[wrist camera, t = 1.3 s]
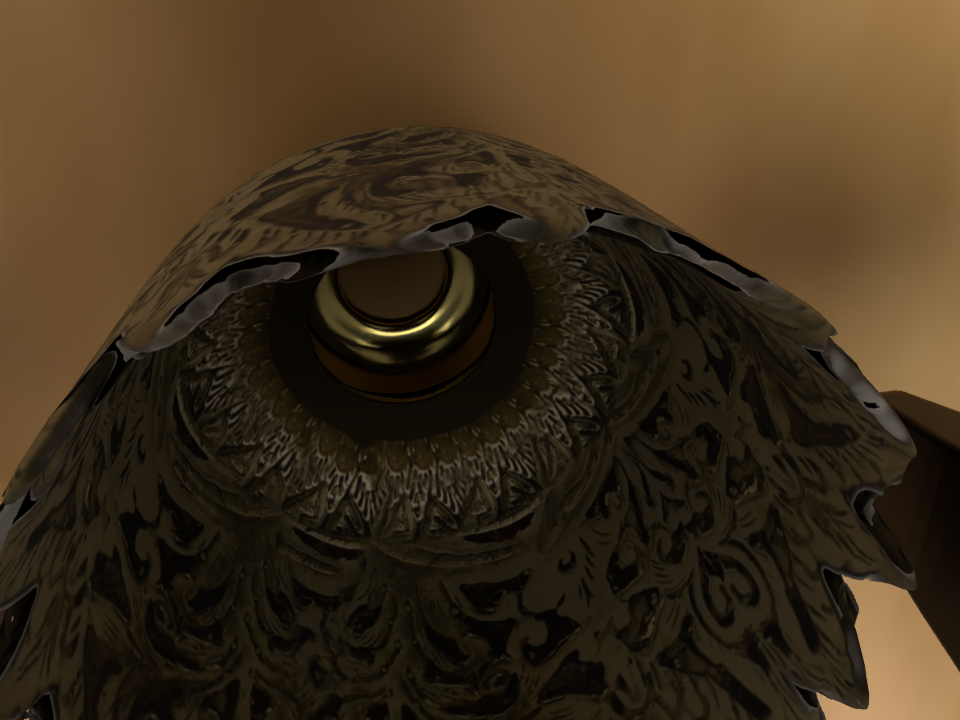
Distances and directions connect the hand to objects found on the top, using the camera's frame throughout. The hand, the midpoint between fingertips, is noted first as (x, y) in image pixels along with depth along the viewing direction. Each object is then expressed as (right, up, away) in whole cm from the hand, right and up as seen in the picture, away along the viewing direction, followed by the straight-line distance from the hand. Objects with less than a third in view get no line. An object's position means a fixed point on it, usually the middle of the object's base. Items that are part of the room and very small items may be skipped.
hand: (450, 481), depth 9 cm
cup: (-1, +3, +5) cm, 6 cm away
